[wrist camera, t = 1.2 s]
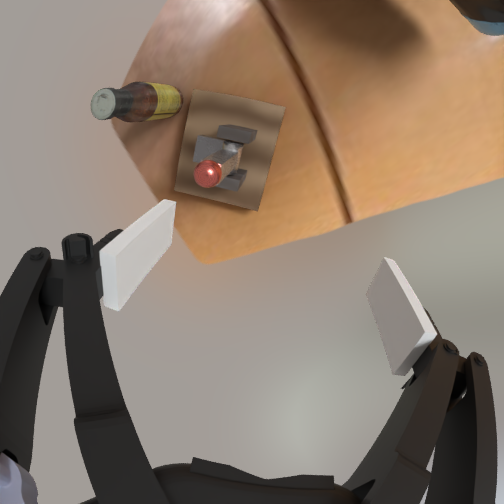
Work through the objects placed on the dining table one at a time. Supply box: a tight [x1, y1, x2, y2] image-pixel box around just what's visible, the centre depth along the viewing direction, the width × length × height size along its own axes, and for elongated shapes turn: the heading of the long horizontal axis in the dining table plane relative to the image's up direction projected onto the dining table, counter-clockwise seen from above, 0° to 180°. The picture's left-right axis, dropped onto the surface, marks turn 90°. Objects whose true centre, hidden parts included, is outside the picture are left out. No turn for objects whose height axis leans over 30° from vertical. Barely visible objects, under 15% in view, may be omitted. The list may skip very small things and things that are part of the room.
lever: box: [193, 134, 244, 188], centre depth 33 cm, size 4×7×16 cm, turn 76°
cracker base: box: [174, 89, 286, 211], centre depth 41 cm, size 18×15×12 cm
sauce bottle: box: [91, 82, 183, 122], centre depth 35 cm, size 7×6×20 cm
